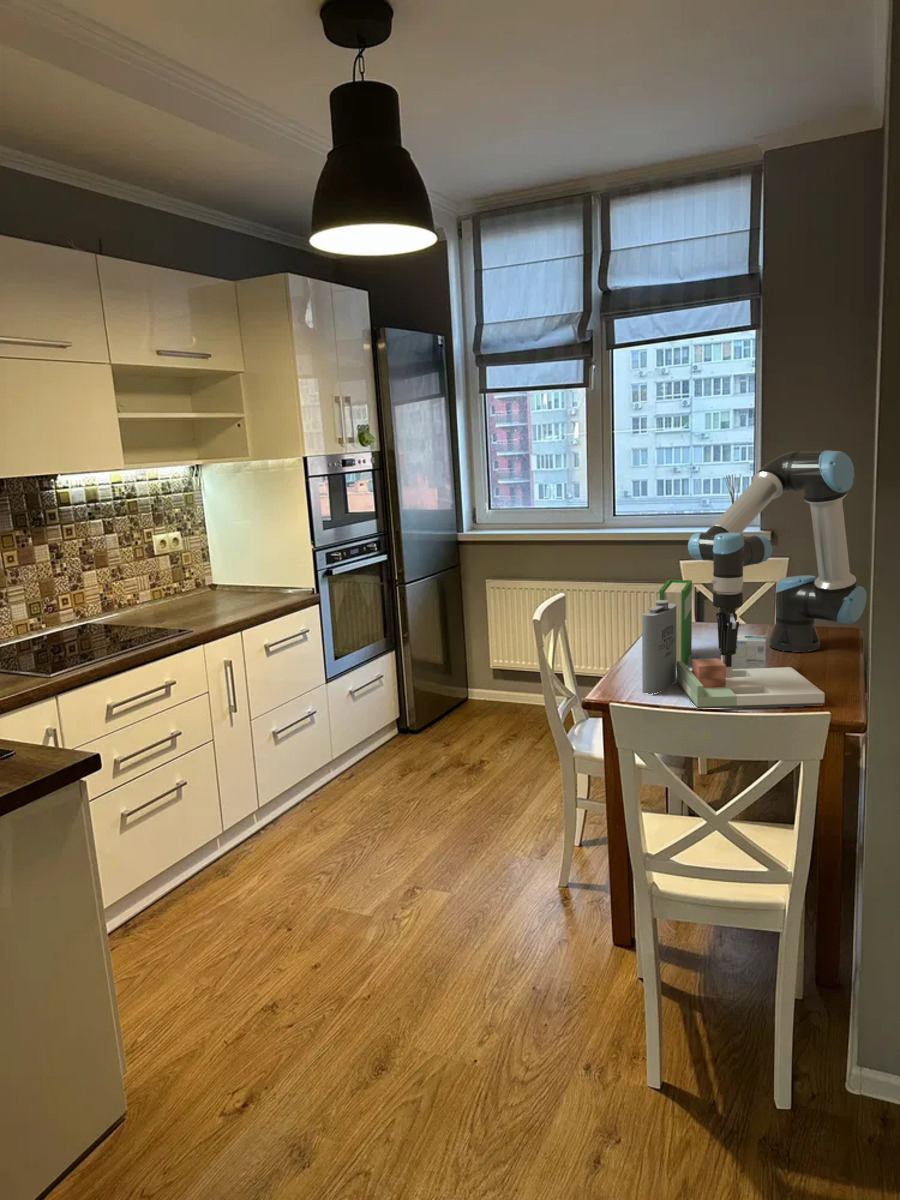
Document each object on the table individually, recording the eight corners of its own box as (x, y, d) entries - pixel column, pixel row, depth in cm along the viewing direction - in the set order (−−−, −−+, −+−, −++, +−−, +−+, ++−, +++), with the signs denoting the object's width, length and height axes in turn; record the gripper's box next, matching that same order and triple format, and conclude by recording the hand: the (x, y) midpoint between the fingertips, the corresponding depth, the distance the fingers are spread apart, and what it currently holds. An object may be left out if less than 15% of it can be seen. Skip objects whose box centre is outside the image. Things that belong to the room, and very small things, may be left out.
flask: (656, 696, 224) (656, 607, 219) (640, 693, 227) (640, 605, 222) (680, 679, 237) (681, 595, 232) (665, 677, 240) (665, 594, 235)
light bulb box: (765, 670, 242) (766, 634, 240) (766, 676, 236) (767, 640, 234) (727, 668, 246) (727, 633, 244) (727, 674, 240) (727, 639, 238)
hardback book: (684, 668, 248) (684, 590, 244) (659, 666, 251) (659, 590, 247) (691, 653, 264) (692, 580, 260) (668, 652, 267) (668, 579, 262)
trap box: (790, 679, 233) (791, 657, 231) (824, 706, 209) (825, 682, 208) (676, 682, 235) (676, 661, 233) (697, 710, 211) (697, 686, 210)
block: (717, 679, 224) (718, 658, 223) (725, 687, 217) (725, 665, 216) (692, 680, 225) (692, 659, 223) (699, 688, 218) (699, 666, 217)
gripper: (707, 587, 223) (706, 670, 228) (720, 596, 210) (719, 684, 215) (734, 586, 223) (733, 669, 227) (749, 595, 210) (748, 683, 214)
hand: (726, 677), depth 221 cm, fingers closed
